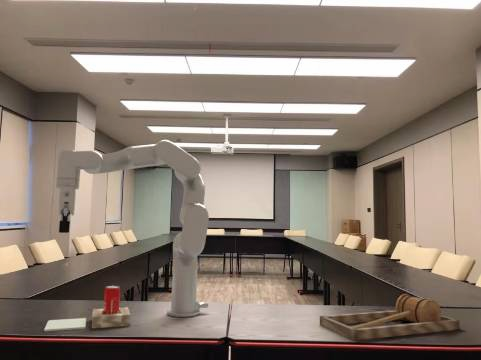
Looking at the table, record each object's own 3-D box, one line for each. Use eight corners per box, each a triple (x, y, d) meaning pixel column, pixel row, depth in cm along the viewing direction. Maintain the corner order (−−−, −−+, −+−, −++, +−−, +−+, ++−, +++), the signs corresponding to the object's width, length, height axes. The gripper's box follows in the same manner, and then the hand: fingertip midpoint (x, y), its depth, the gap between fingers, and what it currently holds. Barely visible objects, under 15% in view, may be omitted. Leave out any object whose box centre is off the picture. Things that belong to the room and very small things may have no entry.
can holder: (127, 317, 137) (127, 307, 138) (130, 325, 126) (130, 314, 127) (92, 319, 133) (92, 309, 133) (91, 328, 122) (92, 317, 122)
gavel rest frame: (416, 316, 149) (416, 308, 149) (459, 329, 131) (459, 320, 131) (319, 324, 133) (319, 316, 133) (354, 340, 115) (354, 330, 115)
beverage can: (113, 324, 127) (115, 288, 128) (99, 323, 128) (101, 287, 129) (121, 321, 132) (123, 286, 133) (107, 320, 133) (110, 285, 134)
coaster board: (86, 319, 132) (86, 318, 132) (85, 328, 121) (85, 326, 121) (48, 322, 128) (48, 320, 128) (43, 331, 117) (44, 329, 117)
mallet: (337, 340, 129) (334, 311, 130) (415, 317, 145) (412, 291, 145) (362, 352, 118) (358, 320, 119) (444, 325, 133) (440, 297, 134)
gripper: (80, 182, 128) (76, 233, 126) (78, 187, 144) (74, 231, 142) (55, 181, 125) (51, 232, 123) (56, 185, 141) (52, 231, 139)
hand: (63, 232), depth 132 cm, fingers open, 9 cm apart
